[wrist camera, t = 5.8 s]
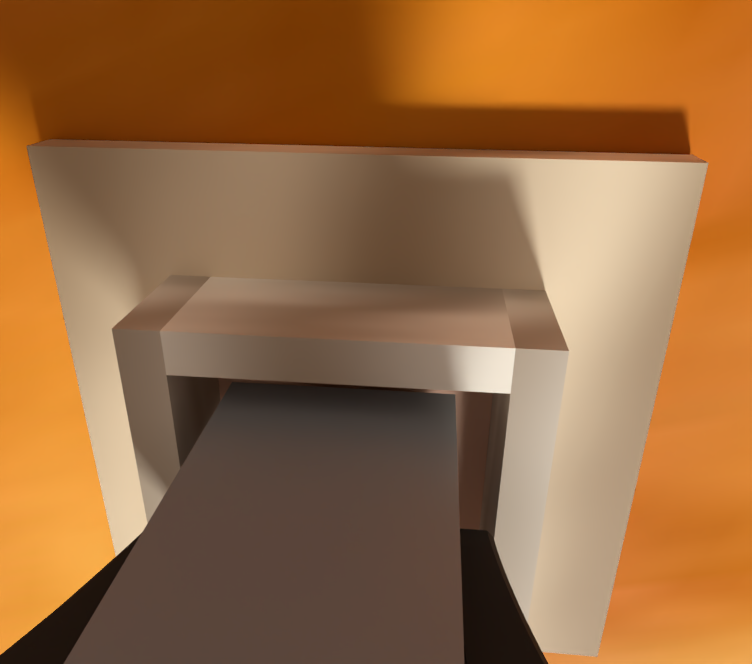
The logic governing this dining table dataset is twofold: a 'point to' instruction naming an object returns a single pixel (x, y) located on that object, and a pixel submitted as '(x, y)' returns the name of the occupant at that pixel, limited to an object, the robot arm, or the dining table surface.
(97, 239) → the holder box
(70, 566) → the dining table surface
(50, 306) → the dining table surface
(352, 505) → the plug
